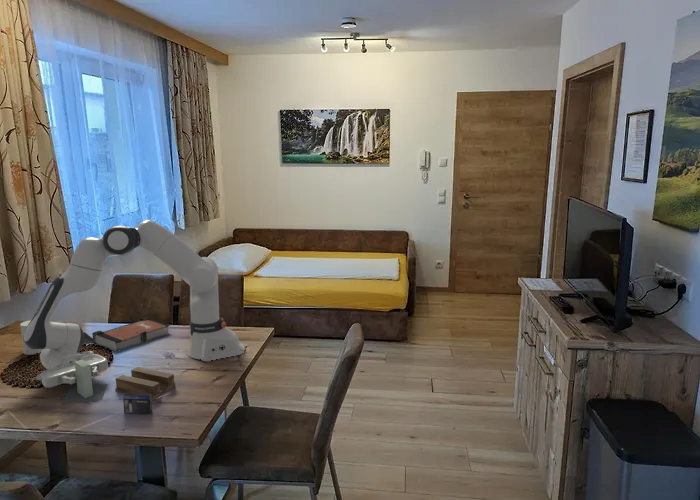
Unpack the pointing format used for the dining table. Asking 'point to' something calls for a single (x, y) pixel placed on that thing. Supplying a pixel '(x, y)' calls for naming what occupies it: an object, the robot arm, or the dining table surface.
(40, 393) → the dining table surface
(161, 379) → the rack
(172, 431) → the dining table surface
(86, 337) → the smartphone
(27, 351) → the cup
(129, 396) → the mini dv tape
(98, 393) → the mat
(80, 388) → the tall sage green pillar
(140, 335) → the book
